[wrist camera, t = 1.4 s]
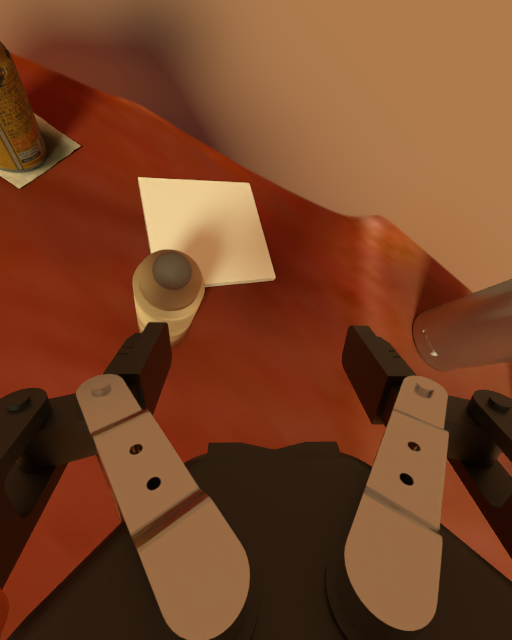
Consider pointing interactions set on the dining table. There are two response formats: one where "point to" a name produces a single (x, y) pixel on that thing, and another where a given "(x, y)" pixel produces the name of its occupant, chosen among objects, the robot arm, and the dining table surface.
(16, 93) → the condiment
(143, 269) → the pepper mill
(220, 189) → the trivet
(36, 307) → the dining table surface
